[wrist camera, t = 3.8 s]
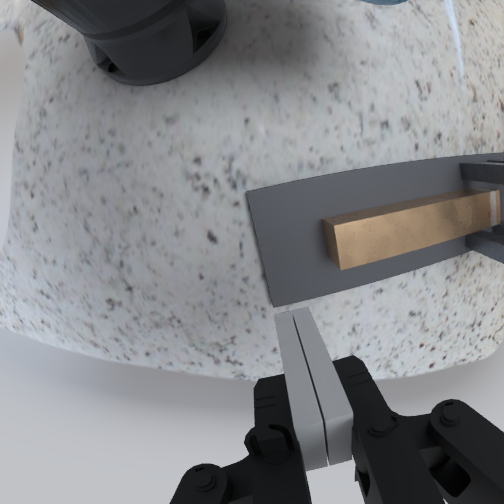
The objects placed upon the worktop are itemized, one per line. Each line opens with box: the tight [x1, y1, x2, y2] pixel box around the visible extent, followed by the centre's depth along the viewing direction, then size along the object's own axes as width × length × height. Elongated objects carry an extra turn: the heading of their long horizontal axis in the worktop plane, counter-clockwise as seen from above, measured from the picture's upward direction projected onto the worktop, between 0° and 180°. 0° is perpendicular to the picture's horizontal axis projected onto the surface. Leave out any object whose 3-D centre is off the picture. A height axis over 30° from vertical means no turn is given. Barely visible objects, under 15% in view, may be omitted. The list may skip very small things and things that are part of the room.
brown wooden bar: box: [322, 187, 500, 270], centre depth 25 cm, size 22×4×4 cm, turn 103°
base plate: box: [246, 153, 504, 308], centre depth 27 cm, size 40×12×1 cm, turn 103°
